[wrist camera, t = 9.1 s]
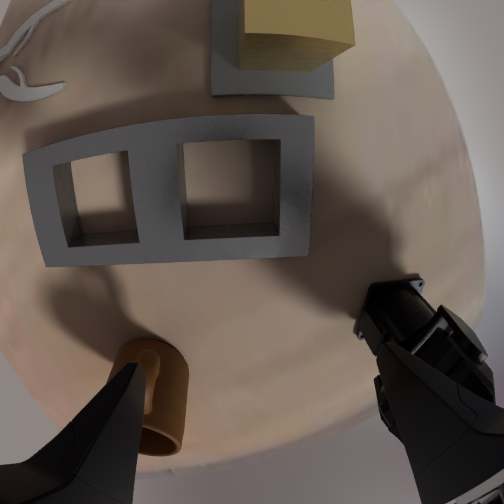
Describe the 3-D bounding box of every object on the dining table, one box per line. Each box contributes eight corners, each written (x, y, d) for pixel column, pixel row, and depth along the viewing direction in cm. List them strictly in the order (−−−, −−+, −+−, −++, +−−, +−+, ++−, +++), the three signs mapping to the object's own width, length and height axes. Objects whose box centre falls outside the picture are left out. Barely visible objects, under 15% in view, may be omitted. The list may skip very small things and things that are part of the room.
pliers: (56, 90, 12) (-41, 133, 11) (67, 92, 14) (-31, 131, 12) (78, -15, 8) (-29, 47, 7) (86, -9, 10) (-20, 48, 8)
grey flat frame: (303, 117, 16) (314, 116, 14) (299, 241, 20) (308, 255, 18) (41, 149, 15) (22, 154, 13) (60, 253, 19) (46, 267, 17)
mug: (122, 288, 21) (79, 372, 12) (207, 312, 22) (201, 406, 14) (119, 372, 25) (98, 442, 17) (183, 390, 27) (177, 462, 18)
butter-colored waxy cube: (307, 16, 12) (345, -30, 6) (310, 72, 14) (355, 45, 8) (238, 12, 12) (243, -43, 6) (238, 70, 14) (244, 32, 8)
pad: (325, 5, 12) (328, 2, 12) (331, 99, 16) (334, 98, 15) (212, -1, 12) (212, -5, 11) (211, 96, 15) (211, 95, 15)
